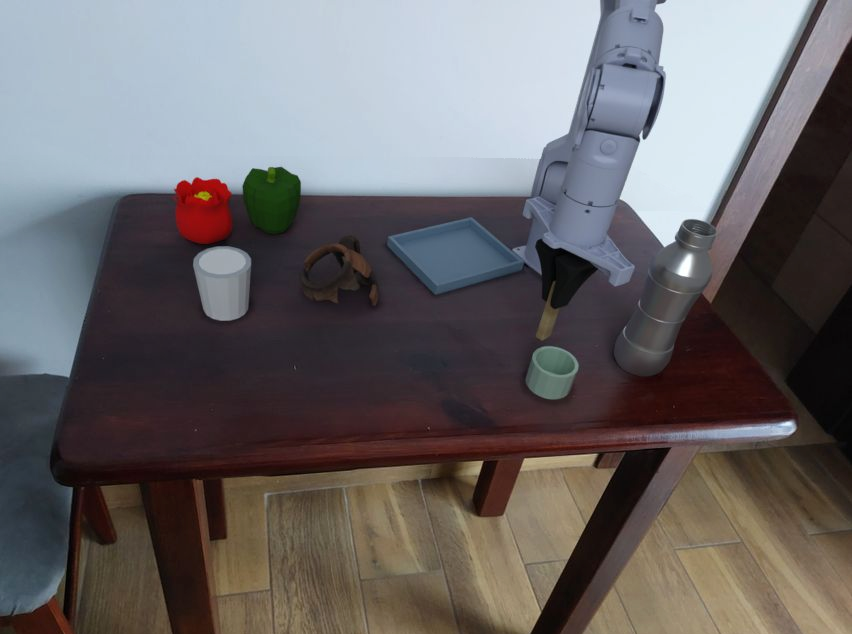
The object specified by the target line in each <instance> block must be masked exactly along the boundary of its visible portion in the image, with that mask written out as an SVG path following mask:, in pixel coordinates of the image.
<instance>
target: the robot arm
mask: <svg viewBox="0 0 852 634" xmlns="http://www.w3.org/2000/svg"><path fill="white" fill-rule="evenodd" d="M666 2H667V0H599V6H600V7H599V10H600V11H599V12H600V17H599V19H598V20H599V21H598V24H597V28H596V31H595V35H594V39H593V43H592V46H591V49H590V53H589V57H588V61H587V65H586V68H585V72H584V75H583V78H582V82H581V86H580V90H579V93H578V97H577V101H576V104H575V108H574V111H573V115H572V119H571V122H570V126H569V130H568V133H566V134H564V135H562V136H561V137H558V138H555V139H554V140H552V141H549V142H548V143H546V145H545V146H544V147H543V148H542V153H541V157H540V158H539V161H538V164H537V168H536V171H535V175H534V179H533V183H532V188H531V191H530V198H527V199H526V200H525V203H524V205H523V206H524V207H523V210H522V216H523V217H524V218H526V219H527V220H531V219H532V224H531V226H530V231H529V234H528V238H527V242H526V244H525V245H521V246H517V247H514V248H512V249H511V251H512V252H513V253H515V254H516V255H517V256H518V257H519V258H521V259H522V260H523V261H524V264H525V265H526V266H527V267H529V268H530V269H533V270H534V271H535V272H536V273H538V274H539V275H540V276H541V299H542V300H543V301H544V302H545V303H546V302H547V299H548V296H549V293H550V290H551V286H552V283H553V281H555V280H556V281H555V286H554V290H553V293H552V297H551V302H550V306H551V307H552V308H553V309H558V308H560V309H561V308H563V307H567V306H568V305H569V304H570V302H571V300H572V299H573V297H574V296H575V294H576V293H577V292H578V290H579V289H580V288H581V287H582V286H583V284H584V283H586V281H587V280H588V279H589V278H590V277H592V275H594V274H595V273H596V272H597V271H598V270H599V271H601V272H602V273H603V274H604V275H606V276H607V277H608V283H609V284H611V285H612V286H613V287H618V286H622V285H624V284H627V283H629V282H630V280H631V278H632V275H633V273H634V271H635V268H636V265H634V264H633V263H632V262H630V261H629V260H628V259H627V258H626V257H625V255H624V254H623V253H622V252H621V251H620V249H619V248H618V247H617V245H616V244H615V242H614V241H613V239H611V237H610V235H608V232H609V230H610V226H611V223H612V221H613V218H614V215H615V212H616V210H617V207H618V204H619V201H620V199H621V195H622V193H623V190H624V187H625V185H626V182H627V179H628V176H629V173H630V171H631V168H632V165H633V162H634V160H635V157H636V155H637V152H638V149H639V146H640V144H641V137H642V140H644V141H645V140H647V138H648V137H649V136H650V133H651V132H652V129H653V128H654V126H655V124H656V121H657V118H658V117H659V114H660V110H661V107H662V103H663V99H664V96H665V95H664V94H665V86H666V79H667V74H666V71H665V70H664V66H663V65H660V59H661V58H660V57H661V51H662V46H663V45H662V44H663V37H664V22H663V20H662V18H661V16H660V15H659V14H658V12H656V7H657V6H658V5H661V4H662V5H663V4H665V3H666ZM641 134H642V135H641ZM640 136H641V137H640Z"/></svg>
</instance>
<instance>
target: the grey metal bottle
mask: <svg viewBox="0 0 852 634" xmlns="http://www.w3.org/2000/svg"><path fill="white" fill-rule="evenodd" d="M717 235H718V230H717V228H716V227H715V226H714V225H712V224H710V223H709V222H707V221H706V220H705V221H704V220H701V219H696V218H687V219H684V220H683V221H682V222H681V224H680V226H679V228H678V230H677V232H676V233H675V235H674V241H673V242H670V243H669V244H667V245H665V246H664V247H662V248H661V249H659V251H657V253H656V254H654V256H653V257H652V258H651V261H650V263H649V266H648V270H647V275H646V279H645V282H644V287H643V289H642V292H641V294H640V298H639V301H638V303H637V306H636V308H635V310H634V311H633V314H632V315H631V317H630V319H629V320H628V322H627V324H626V325H625V326H624V328H623V329H622V330H621V332H620V333H619V334H618V336H617V338H616V340H615V342H614V348H613V356H614V359H615V362H616V363H617V365H618V366H619V367H620V368H621V369H622V370H623V371H625V372H627V373H629V374H631V375H633V376H638V377H642V378H643V377H644V378H645V377H653V376H655V375H657V374H659V373H661V372H662V371H663V370H664V369H665V368H666V367H667V366H668V364H669V363H670V361H671V359H672V356H673V352H674V347H675V343H676V341H677V338H678V335H679V332H680V330H681V327H682V324H683V323H684V322H685V319H686V317H687V316H688V314H689V313H690V311H691V309H692V307H693V306H694V304H695V303H696V302H697V301H698V299H699V297H700V296H701V295H702V294H703V292H704V291H705V290H706V288H707V287H708V285H709V284H710V282H711V280H712V277H713V271H714V270H713V264H712V259H711V257H710V255H709V252H708V251H711V249H712V248H713V246H714V242H715V240H716V237H717Z"/></svg>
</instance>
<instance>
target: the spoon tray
mask: <svg viewBox="0 0 852 634" xmlns="http://www.w3.org/2000/svg"><path fill="white" fill-rule="evenodd" d="M386 242H387V243H386V246H387V248H388V249H389V250H391V252H392V253H394V255H395V256H396V257H397V258H398V259H399V260H400V261H401V262H402V263H403V264H404V265H405V266H406V267H407V268H408V269H409V270H410V271H411V272H412V273H413V274H414V275H415V276H416V277H417V278H418V279H419V280H420V281H421V282H422V283H423V284H424V286H425V287H426V288H428V289H429V291H430V292H432V294H433V295H434V296H437V295H441V294H444V293H447V292H451V291H455V290H458V289H462V288H465V287H469V286H472V285H475V284H476V285H477V284H479V283H483V282H486V281H490V280H493V279H497V278H500V277H504V276H507V275H510V274H514V273H518V272H521V271H523V268H524V264H525V263H524V261H523V260H522V259H521V258H519V257H518V256H517V255H516V254H515V253H513V252H512V249H510V248H509V247H507V245H506V244H504V243H503V241H501V240H499V239H498V238H497V237H496V236H494V235H493V234H492V233H491V232H490V231H489V230H487V229H486V228H485V227H484V226H483V225H481V224H480V223H479V222H478V221H477V220H476V219H474V218H473V217H472V216H470V217H467V218H463V219H457V220H454V221H449V222H445V223H440V224H436V225H431V226H428V227H423V228H419V229H415V230H414V229H413V230H410V231H406V232H401V233H397V234H393V235H389V236H387V241H386Z"/></svg>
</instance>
